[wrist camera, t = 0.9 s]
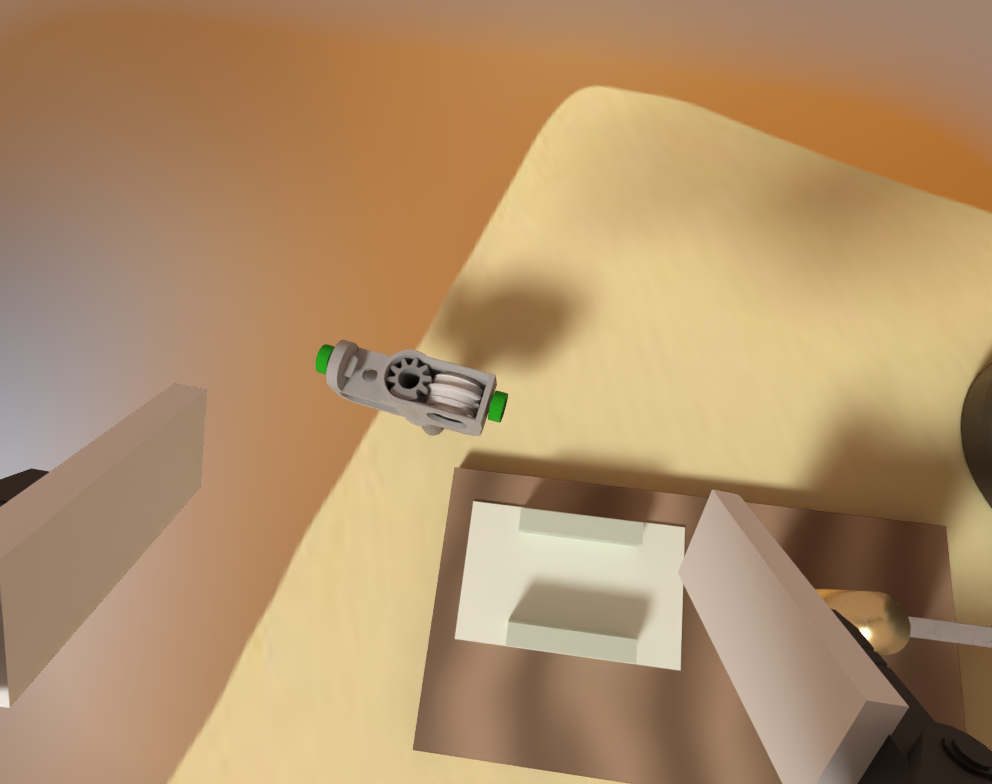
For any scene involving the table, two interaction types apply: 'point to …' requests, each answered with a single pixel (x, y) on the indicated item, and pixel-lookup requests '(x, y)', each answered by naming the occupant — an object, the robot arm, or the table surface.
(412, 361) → the mechanical component
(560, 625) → the board
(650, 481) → the table surface
